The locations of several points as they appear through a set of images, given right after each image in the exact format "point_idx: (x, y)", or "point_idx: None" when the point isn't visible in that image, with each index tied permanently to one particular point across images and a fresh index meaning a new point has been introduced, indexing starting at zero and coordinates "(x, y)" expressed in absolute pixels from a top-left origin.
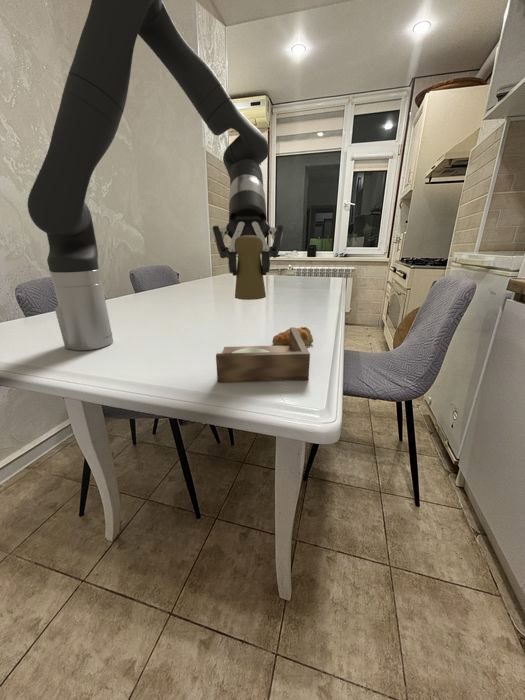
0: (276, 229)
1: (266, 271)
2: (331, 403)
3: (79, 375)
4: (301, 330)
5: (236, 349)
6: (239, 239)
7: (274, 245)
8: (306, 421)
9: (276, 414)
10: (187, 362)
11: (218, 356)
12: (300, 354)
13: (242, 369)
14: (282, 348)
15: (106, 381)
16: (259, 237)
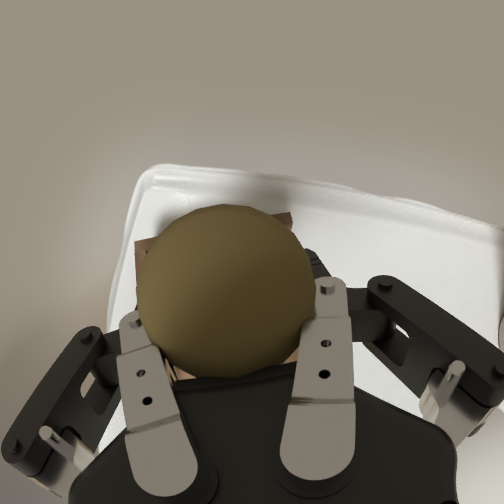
0: (43, 472)
1: None
2: (135, 202)
3: (463, 233)
4: None
5: (287, 360)
6: (269, 215)
7: (89, 334)
8: (167, 167)
9: (196, 172)
10: None
11: (285, 213)
12: (149, 238)
13: None
14: (190, 375)
15: (428, 220)
16: (144, 270)
